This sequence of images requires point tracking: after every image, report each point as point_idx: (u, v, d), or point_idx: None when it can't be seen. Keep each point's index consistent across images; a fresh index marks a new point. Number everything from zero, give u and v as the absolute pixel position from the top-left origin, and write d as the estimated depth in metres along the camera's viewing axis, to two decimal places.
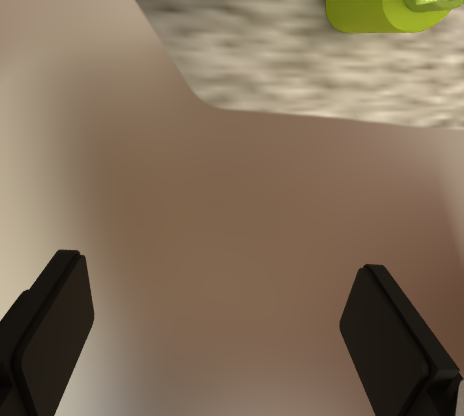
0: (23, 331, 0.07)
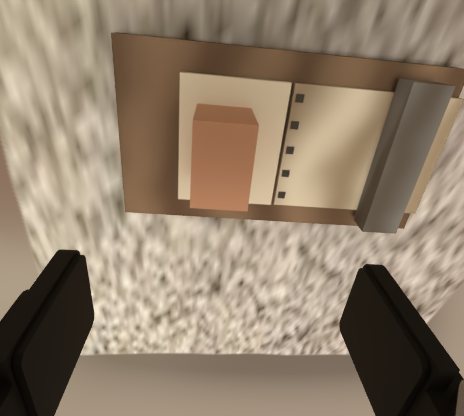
0: (23, 331, 0.07)
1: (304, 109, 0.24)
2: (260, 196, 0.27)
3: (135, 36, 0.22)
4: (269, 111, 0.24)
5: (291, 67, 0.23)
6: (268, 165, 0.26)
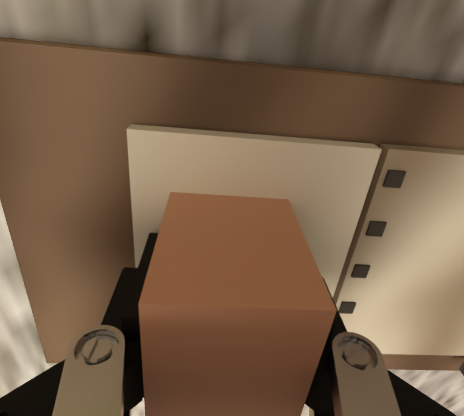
0: None
1: (400, 199, 0.11)
2: None
3: (16, 45, 0.09)
4: (326, 205, 0.11)
5: (379, 113, 0.10)
6: None
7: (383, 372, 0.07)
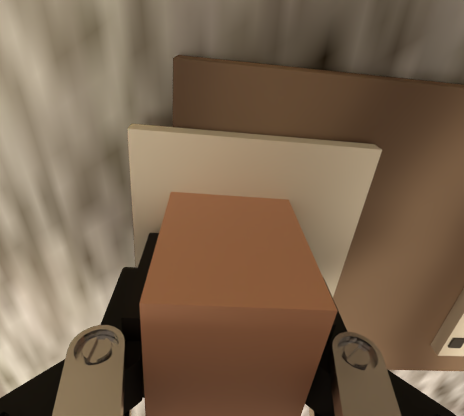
0: None
1: None
2: None
3: (227, 66, 0.09)
4: (327, 205, 0.11)
5: None
6: None
7: (383, 372, 0.07)
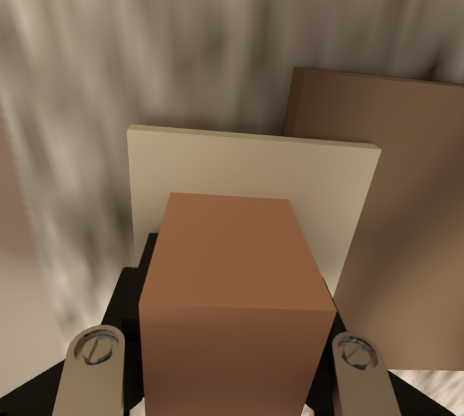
0: None
1: None
2: None
3: (355, 79, 0.10)
4: (326, 205, 0.11)
5: None
6: None
7: (383, 372, 0.07)
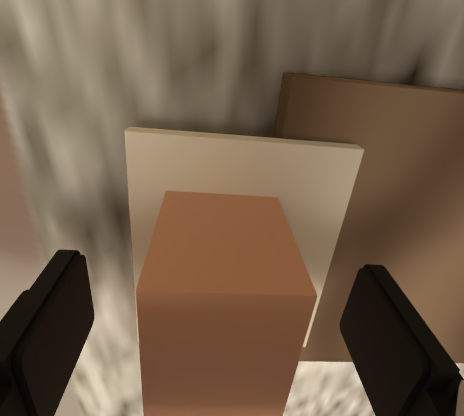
0: (22, 332, 0.07)
1: None
2: None
3: (339, 84, 0.10)
4: (314, 202, 0.12)
5: None
6: None
7: None
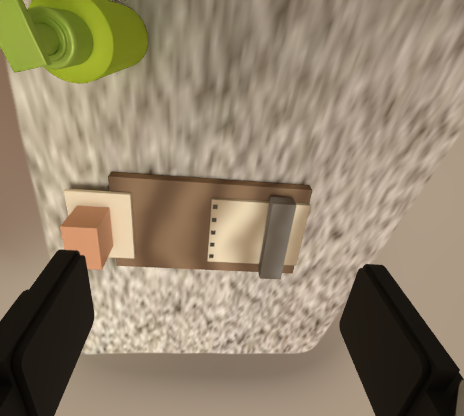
0: (23, 332, 0.07)
1: (218, 212, 0.42)
2: (126, 253, 0.44)
3: (121, 177, 0.40)
4: (120, 209, 0.41)
5: (209, 190, 0.41)
6: (127, 236, 0.43)
7: None
